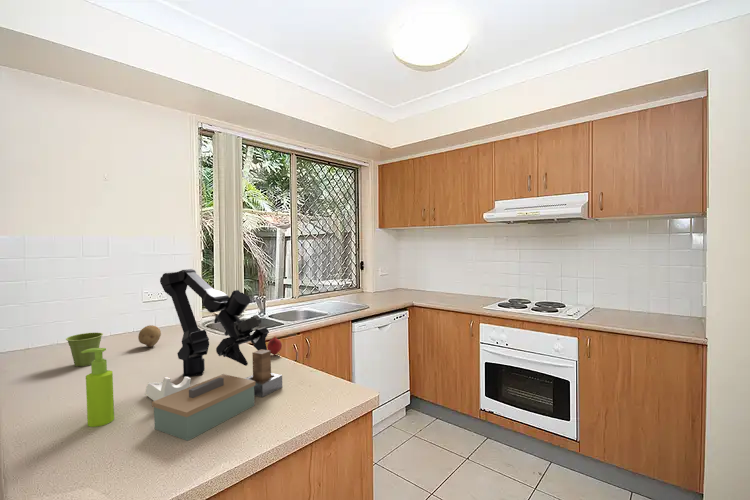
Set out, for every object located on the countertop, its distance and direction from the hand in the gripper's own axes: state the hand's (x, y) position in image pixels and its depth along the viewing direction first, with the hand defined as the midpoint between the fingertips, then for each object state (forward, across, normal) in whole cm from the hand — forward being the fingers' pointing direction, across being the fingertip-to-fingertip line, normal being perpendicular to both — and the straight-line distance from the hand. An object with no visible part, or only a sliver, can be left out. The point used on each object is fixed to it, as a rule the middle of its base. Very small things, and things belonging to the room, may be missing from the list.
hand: (257, 360), depth 126 cm
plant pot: (-51, -11, +64) cm, 83 cm away
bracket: (-8, -18, +21) cm, 29 cm away
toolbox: (+8, -18, +5) cm, 21 cm away
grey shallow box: (+8, 0, +5) cm, 9 cm away
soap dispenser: (-9, -36, +22) cm, 44 cm away
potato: (-52, +15, +64) cm, 83 cm away
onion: (-8, +30, +21) cm, 38 cm away
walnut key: (+8, 0, +5) cm, 9 cm away
